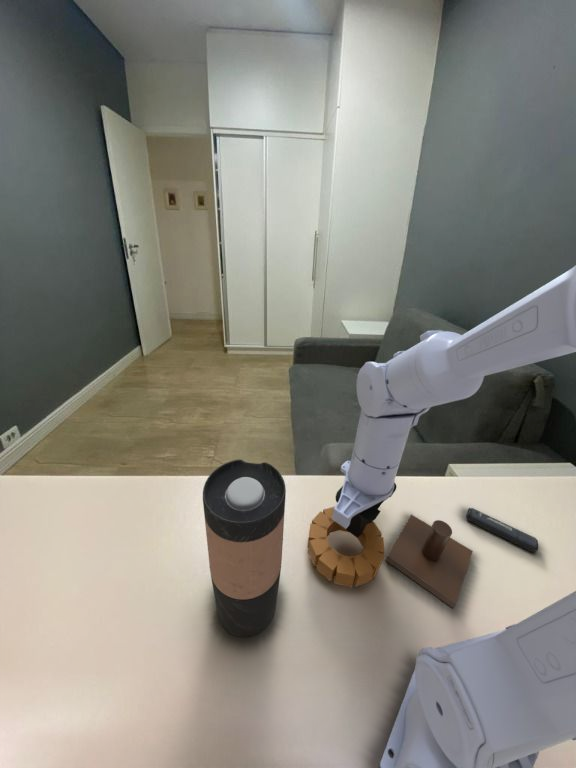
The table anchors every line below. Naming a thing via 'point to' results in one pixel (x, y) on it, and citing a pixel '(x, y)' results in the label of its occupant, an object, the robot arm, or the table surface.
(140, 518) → the table surface
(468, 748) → the robot arm
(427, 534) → the post stand
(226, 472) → the travel mug
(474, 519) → the usb stick
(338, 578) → the notched ring
